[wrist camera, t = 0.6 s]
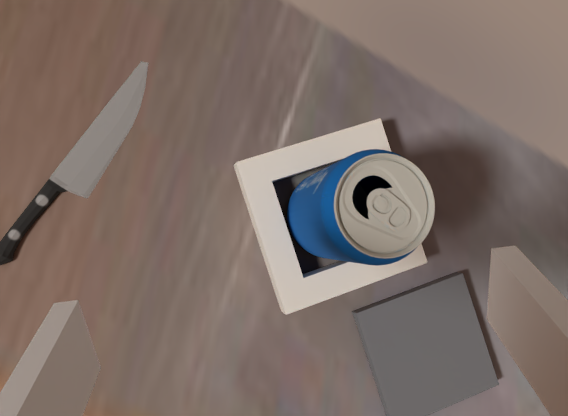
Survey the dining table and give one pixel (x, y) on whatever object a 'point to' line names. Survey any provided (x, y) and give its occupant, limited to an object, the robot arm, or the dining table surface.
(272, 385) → the dining table surface
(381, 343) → the coaster
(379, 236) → the beverage can
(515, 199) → the dining table surface
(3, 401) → the robot arm
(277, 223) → the can holder
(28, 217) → the chef's knife
